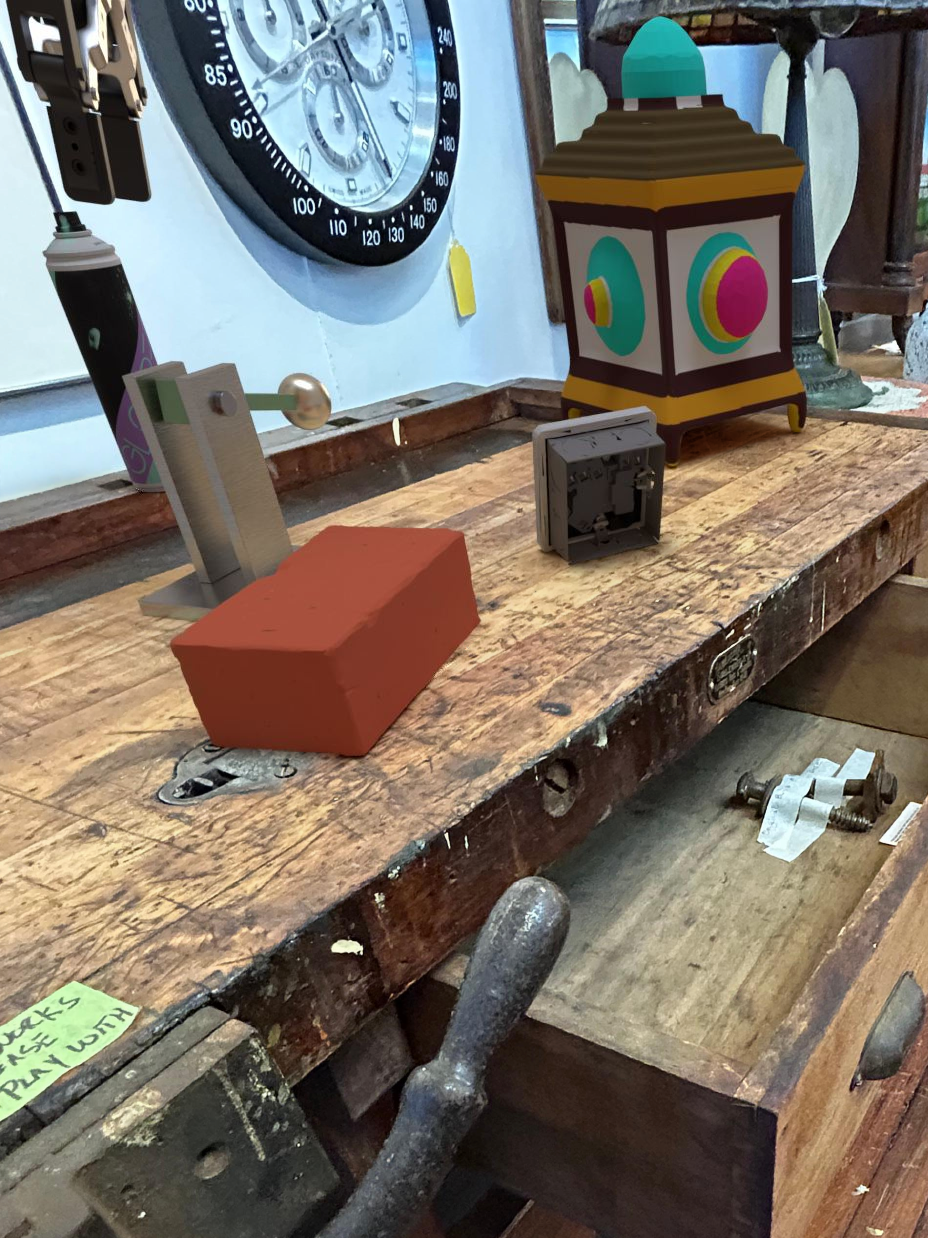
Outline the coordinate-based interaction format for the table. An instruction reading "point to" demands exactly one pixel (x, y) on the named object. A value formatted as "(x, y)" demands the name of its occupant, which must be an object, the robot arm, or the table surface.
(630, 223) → the decorative lantern
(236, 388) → the switch bracket
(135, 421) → the spray can
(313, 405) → the switch lever
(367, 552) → the brick
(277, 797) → the table surface
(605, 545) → the electrical switch
